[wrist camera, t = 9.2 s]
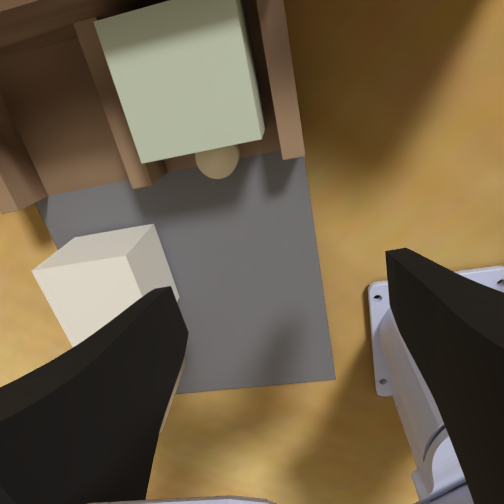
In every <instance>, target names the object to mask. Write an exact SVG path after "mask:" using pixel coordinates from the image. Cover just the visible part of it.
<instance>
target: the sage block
mask: <svg viewBox="0 0 504 504" xmlns="http://www.w3.org/2000/svg"><path fill="white" fill-rule="evenodd" d="M94 25H95V28H96V31H97V34H98V37H99V40H100V43H101V46H102V49H103V52H104V55H105V58H106V61H107V64H108V67H109V69H110V72H111V75H112V78H113V81H114V84H115V87H116V90H117V93H118V96H119V99H120V102H121V105H122V108H123V111H124V114H125V117H126V120H127V123H128V125H129V128H130V131H131V134H132V137H133V140H134V143H135V146H136V149H137V152H138V155H139V158H140V161H141V164H142V163H147V162H152V161H157V160H162V159H167V158H172V157H177V156H182V155H187V154H192V153H195V159H196V163H197V166H198V168H199V169H200V171H201V172H202V173H203V174H205V175H206V176H208V177H210V178H213V179H222V178H225V177H227V176H229V175H230V174H231V173H232V172H233V171H234V169H235V167H236V165H237V163H238V161H239V158H240V149H239V146H238V144H241V143H246V142H250V141H255V140H260V139H262V137H263V134H264V131H265V128H266V122H265V117H264V111H263V106H262V100H261V95H260V89H259V84H258V78H257V72H256V67H255V61H254V56H253V50H252V45H251V39H250V34H249V28H248V23H247V17H246V12H245V6H244V3H243V2H242V0H169V1H165V2H162V3H158V4H155V5H151V6H148V7H144V8H140V9H137V10H133V11H130V12H126V13H123V14H119V15H115V16H112V17H108V18H105V19H101V20H98V21H94Z"/></svg>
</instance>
